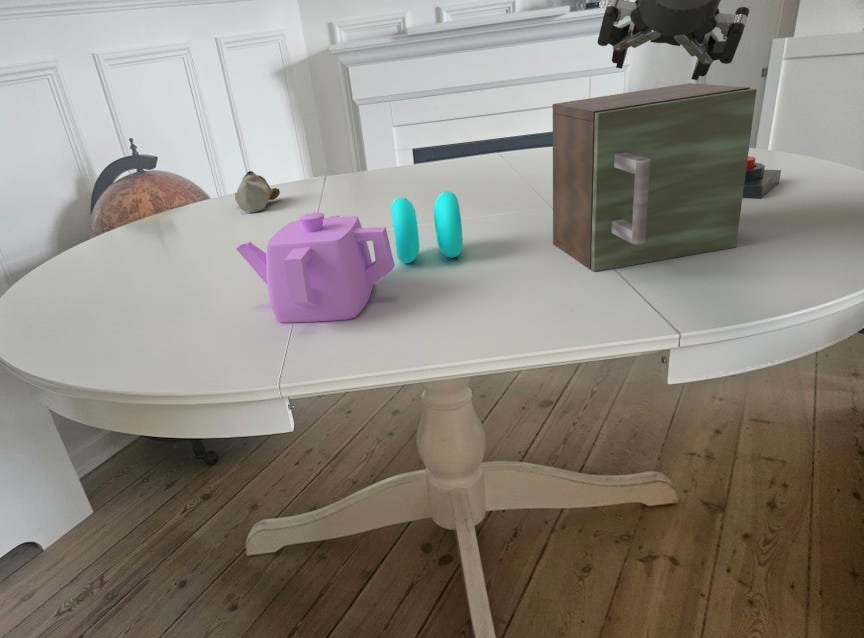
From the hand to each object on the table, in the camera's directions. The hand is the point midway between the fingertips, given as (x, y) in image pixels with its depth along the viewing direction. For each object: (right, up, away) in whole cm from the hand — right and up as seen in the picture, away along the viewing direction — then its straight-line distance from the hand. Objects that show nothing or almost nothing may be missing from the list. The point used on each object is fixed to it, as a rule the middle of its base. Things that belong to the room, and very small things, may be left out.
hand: (657, 66), depth 74 cm
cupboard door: (+6, -22, +9) cm, 25 cm away
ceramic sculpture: (-62, +1, +74) cm, 97 cm away
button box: (+31, -4, +37) cm, 49 cm away
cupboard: (+5, -18, +18) cm, 26 cm away
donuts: (-25, -19, +24) cm, 40 cm away
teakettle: (-41, -27, +14) cm, 50 cm away
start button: (+30, -1, +36) cm, 47 cm away
